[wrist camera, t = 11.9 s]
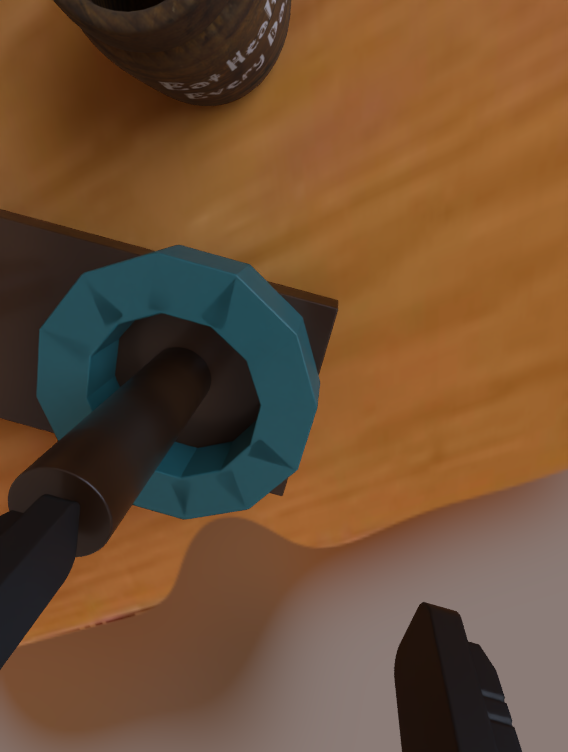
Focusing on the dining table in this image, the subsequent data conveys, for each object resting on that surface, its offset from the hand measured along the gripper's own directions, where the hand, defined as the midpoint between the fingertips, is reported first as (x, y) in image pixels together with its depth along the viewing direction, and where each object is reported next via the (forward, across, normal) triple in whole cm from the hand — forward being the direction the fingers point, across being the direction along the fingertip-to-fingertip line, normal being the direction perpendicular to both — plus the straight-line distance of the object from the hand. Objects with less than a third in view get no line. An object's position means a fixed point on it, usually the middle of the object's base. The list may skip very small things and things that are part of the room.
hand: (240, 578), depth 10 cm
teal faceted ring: (+9, +4, 0) cm, 10 cm away
